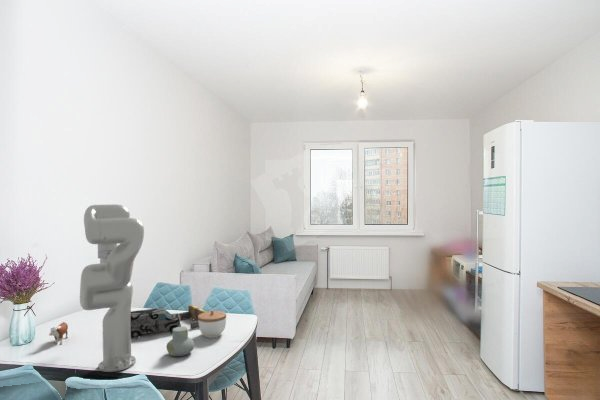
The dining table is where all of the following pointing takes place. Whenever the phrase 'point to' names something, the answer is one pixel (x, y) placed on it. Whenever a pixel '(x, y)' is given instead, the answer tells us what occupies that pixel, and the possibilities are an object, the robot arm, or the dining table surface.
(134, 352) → the dining table surface
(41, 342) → the dining table surface
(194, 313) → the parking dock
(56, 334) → the bull figurine
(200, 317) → the lidded bowl
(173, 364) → the dining table surface
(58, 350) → the dining table surface
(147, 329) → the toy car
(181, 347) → the air freshener
